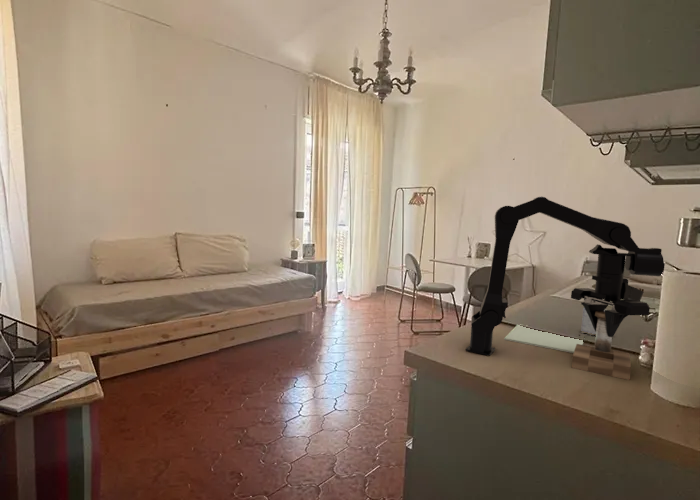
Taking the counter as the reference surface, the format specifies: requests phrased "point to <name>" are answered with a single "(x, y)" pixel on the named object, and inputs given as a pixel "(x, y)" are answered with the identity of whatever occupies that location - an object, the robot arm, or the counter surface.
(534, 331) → the sage mat
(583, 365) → the walnut block
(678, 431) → the counter surface
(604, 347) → the metal peg
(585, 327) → the medicine box
